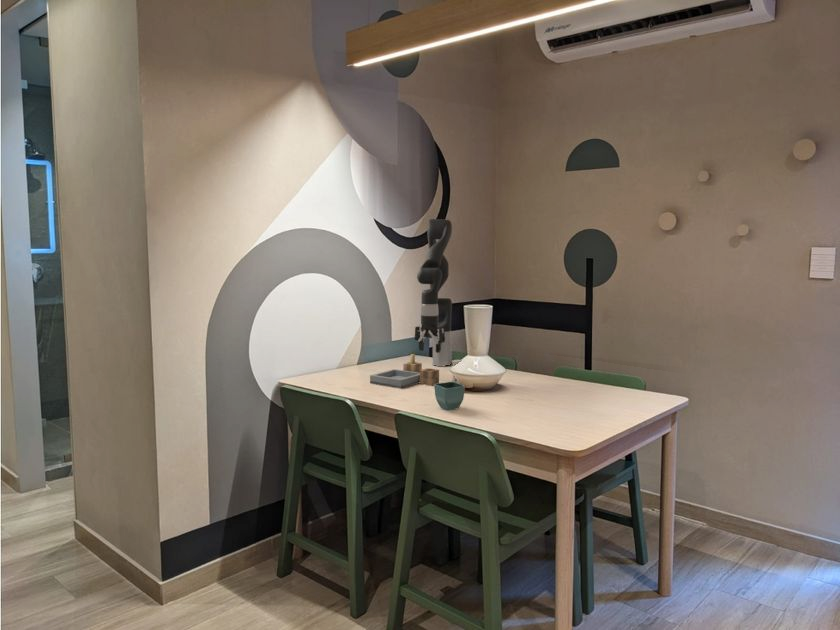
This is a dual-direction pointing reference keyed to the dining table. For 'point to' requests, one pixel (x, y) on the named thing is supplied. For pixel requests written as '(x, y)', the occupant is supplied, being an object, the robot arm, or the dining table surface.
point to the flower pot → (449, 394)
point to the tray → (395, 378)
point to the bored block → (429, 376)
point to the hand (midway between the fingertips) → (429, 351)
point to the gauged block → (412, 365)
